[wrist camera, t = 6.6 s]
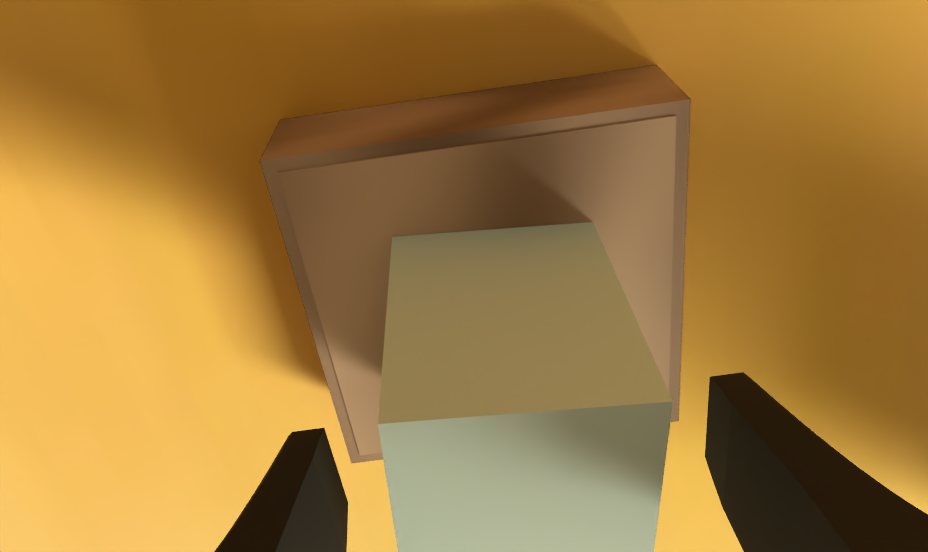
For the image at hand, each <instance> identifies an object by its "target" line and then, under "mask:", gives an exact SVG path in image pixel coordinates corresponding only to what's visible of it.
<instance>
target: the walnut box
mask: <svg viewBox="0 0 928 552" xmlns="http://www.w3.org/2000/svg"><path fill="white" fill-rule="evenodd" d="M690 100H691V99H690V98H689V97H688V96H687V95H686V94H685V93H684V92H683V91H682V90H681V89H680V88H679V87H678V86H677V85H676V84H675V83H674V82H673V81H672V80H671V79H670V78H669V77H668V76H667V75H666V74H665V73H664V72H663V71H662V70H661V69H660V68H659V67H658V66H657V65H652V66H645V67H638V68H631V69H624V70H618V71H611V72H604V73H597V74H590V75H583V76H576V77H570V78H563V79H556V80H549V81H542V82H535V83H528V84H522V85H515V86H508V87H501V88H494V89H487V90H480V91H474V92H467V93H460V94H453V95H446V96H439V97H432V98H426V99H419V100H412V101H405V102H398V103H391V104H384V105H378V106H371V107H364V108H357V109H350V110H343V111H336V112H330V113H323V114H316V115H309V116H302V117H295V118H288V119H282V120H280V121H279V123H278V125H277V127H276V129H275V131H274V133H273V135H272V137H271V139H270V141H269V143H268V145H267V147H266V149H265V151H264V153H263V155H262V157H261V159H260V164H261V167H262V170H263V174H264V177H265V180H266V183H267V187H268V190H269V193H270V197H271V200H272V203H273V206H274V210H275V213H276V216H277V220H278V223H279V226H280V229H281V233H282V236H283V239H284V243H285V246H286V249H287V252H288V256H289V259H290V262H291V266H292V269H293V272H294V275H295V279H296V282H297V285H298V289H299V292H300V295H301V298H302V302H303V305H304V308H305V312H306V315H307V318H308V321H309V325H310V328H311V331H312V335H313V338H314V341H315V344H316V348H317V351H318V354H319V358H320V361H321V364H322V367H323V371H324V374H325V377H326V381H327V384H328V387H329V390H330V394H331V397H332V400H333V404H334V407H335V410H336V413H337V417H338V420H339V423H340V427H341V430H342V433H343V436H344V440H345V443H346V446H347V450H348V453H349V456H350V459H351V463H358V462H366V461H374V460H381V459H383V454H382V447H381V441H380V435H379V429H378V414H379V401H380V388H381V375H382V362H383V349H384V336H385V323H386V310H387V297H388V284H389V271H390V258H391V245H392V237H395V236H408V235H422V234H436V233H449V232H463V231H477V230H490V229H504V228H518V227H531V226H545V225H559V224H572V223H586V222H593V223H594V226H595V228H596V230H597V232H598V235H599V237H600V239H601V241H602V244H603V246H604V248H605V250H606V253H607V255H608V257H609V259H610V262H611V264H612V266H613V268H614V271H615V273H616V275H617V277H618V280H619V282H620V284H621V286H622V289H623V291H624V293H625V295H626V298H627V300H628V302H629V304H630V307H631V309H632V311H633V313H634V316H635V318H636V320H637V322H638V325H639V327H640V329H641V331H642V334H643V336H644V338H645V340H646V343H647V345H648V347H649V349H650V352H651V354H652V356H653V358H654V361H655V363H656V365H657V367H658V370H659V372H660V374H661V376H662V379H663V381H664V383H665V385H666V388H667V390H668V392H669V394H670V397H671V399H672V401H673V403H672V411H671V419H670V422H673V421H679V398H680V371H681V343H682V316H683V289H684V262H685V235H686V208H687V181H688V154H689V127H690Z"/></svg>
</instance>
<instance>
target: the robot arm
mask: <svg viewBox="0 0 928 552" xmlns="http://www.w3.org/2000/svg"><path fill="white" fill-rule="evenodd" d="M705 458H706V461H707V464H708V467H709V470H710V473H711V476H712V479H713V482H714V485H715V487H716V490H717V493H718V496H719V499H720V501H721V504H722V507H723V509H724V511H725V513H726V515H727V518H728V520H729V522H730V524H731V526H732V528H733V530H734V532H735V534H736V536H737V538H738V540H739V542H740V544H741V547H742V549H743V551H744V552H928V515H927V514H926V513H924V512H923V511H921V510H919V509H918V508H916V507H915V506H913V505H911V504H910V503H908V502H907V501H905V500H904V499H902V498H901V497H899V496H898V495H896V494H895V493H893V492H892V491H890V490H889V489H887V488H886V487H885V486H883V485H882V484H880V483H879V482H878V481H876V480H875V479H873V478H872V477H871V476H869V475H868V474H867V473H865V472H864V471H862V470H861V469H860V468H858V467H857V466H856V465H854V464H853V463H852V462H850V461H849V460H848V459H847V458H845V457H844V456H843V455H841V454H840V453H839V452H838V451H836V450H835V449H834V448H833V447H831V446H830V445H829V444H828V443H826V442H825V441H824V440H823V439H821V438H820V437H819V436H818V435H816V434H815V433H814V432H813V431H811V430H810V429H809V428H808V427H807V426H805V425H804V424H803V423H802V422H801V421H799V420H798V419H797V418H796V417H795V416H794V415H792V414H791V413H790V412H789V411H788V410H786V409H785V408H784V407H783V406H782V405H781V404H780V403H778V402H777V401H776V400H775V399H774V398H773V397H771V396H770V395H769V394H768V393H767V392H766V391H765V390H763V389H762V388H761V387H760V386H759V385H758V384H757V383H755V382H754V381H753V380H752V379H751V378H750V377H748V376H747V375H746V374H745V373H735V374H728V375H720V376H713V377H710V385H709V401H708V417H707V433H706V449H705ZM347 519H348V501H347V498H346V495H345V492H344V489H343V486H342V482H341V479H340V476H339V473H338V470H337V467H336V464H335V461H334V457H333V454H332V451H331V448H330V445H329V442H328V439H327V436H326V432H325V429H324V428H319V429H312V430H304V431H297V432H292V433H291V434H290V435H289V436H288V438H287V440H286V441H285V443H284V445H283V446H282V448H281V450H280V451H279V453H278V455H277V456H276V458H275V460H274V462H273V463H272V465H271V467H270V468H269V470H268V472H267V473H266V475H265V476H264V478H263V480H262V481H261V483H260V485H259V486H258V488H257V489H256V491H255V493H254V494H253V496H252V497H251V499H250V500H249V502H248V503H247V505H246V507H245V508H244V510H243V511H242V513H241V514H240V516H239V517H238V519H237V520H236V522H235V523H234V525H233V526H232V528H231V529H230V531H229V532H228V534H227V535H226V536H225V538H224V539H223V541H222V542H221V543H220V545H219V546H218V548H217V549H216V550H215V552H346V547H347Z"/></svg>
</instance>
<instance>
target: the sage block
mask: <svg viewBox="0 0 928 552" xmlns="http://www.w3.org/2000/svg"><path fill="white" fill-rule="evenodd" d="M672 403H673V401H672V399H671V397H670V394H669V392H668V390H667V388H666V385H665V383H664V381H663V379H662V376H661V374H660V372H659V370H658V367H657V365H656V363H655V361H654V358H653V356H652V354H651V352H650V349H649V347H648V345H647V343H646V340H645V338H644V336H643V334H642V331H641V329H640V327H639V325H638V322H637V320H636V318H635V316H634V313H633V311H632V309H631V307H630V304H629V302H628V300H627V298H626V295H625V293H624V291H623V289H622V286H621V284H620V282H619V280H618V277H617V275H616V273H615V271H614V268H613V266H612V264H611V262H610V259H609V257H608V255H607V253H606V250H605V248H604V246H603V244H602V241H601V239H600V237H599V235H598V232H597V230H596V228H595V226H594V223H593V222H586V223H572V224H559V225H545V226H531V227H518V228H504V229H490V230H477V231H463V232H449V233H436V234H422V235H408V236H395V237H392V245H391V258H390V271H389V284H388V297H387V310H386V323H385V336H384V349H383V362H382V375H381V388H380V401H379V414H378V429H379V435H380V441H381V447H382V454H383V460H384V466H385V472H386V479H387V485H388V491H389V497H390V504H391V510H392V516H393V522H394V528H395V535H396V541H397V547H398V552H654V546H655V538H656V530H657V522H658V514H659V506H660V498H661V490H662V482H663V475H664V467H665V459H666V451H667V443H668V435H669V427H670V419H671V411H672Z"/></svg>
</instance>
